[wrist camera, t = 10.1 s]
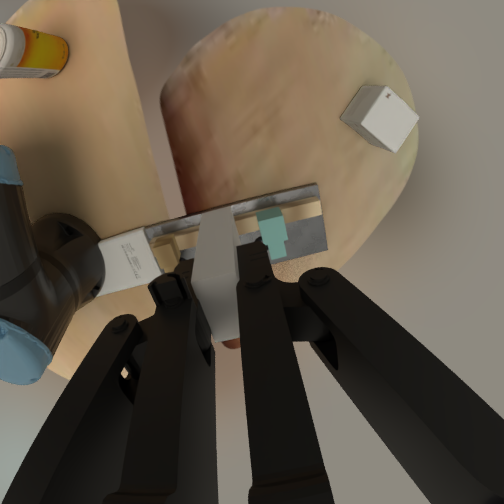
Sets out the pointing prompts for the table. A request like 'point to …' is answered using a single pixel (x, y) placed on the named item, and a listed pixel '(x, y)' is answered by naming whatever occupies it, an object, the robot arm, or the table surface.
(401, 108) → the product box
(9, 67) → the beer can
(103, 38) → the table surface
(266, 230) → the block
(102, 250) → the external hard drive
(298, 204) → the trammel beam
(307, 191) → the bolt plate
